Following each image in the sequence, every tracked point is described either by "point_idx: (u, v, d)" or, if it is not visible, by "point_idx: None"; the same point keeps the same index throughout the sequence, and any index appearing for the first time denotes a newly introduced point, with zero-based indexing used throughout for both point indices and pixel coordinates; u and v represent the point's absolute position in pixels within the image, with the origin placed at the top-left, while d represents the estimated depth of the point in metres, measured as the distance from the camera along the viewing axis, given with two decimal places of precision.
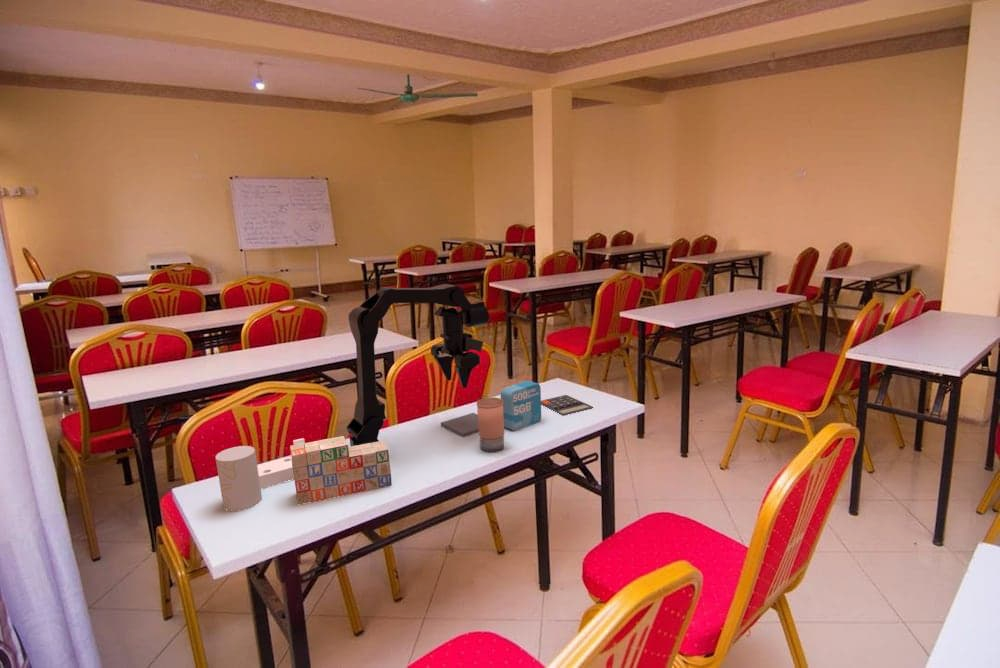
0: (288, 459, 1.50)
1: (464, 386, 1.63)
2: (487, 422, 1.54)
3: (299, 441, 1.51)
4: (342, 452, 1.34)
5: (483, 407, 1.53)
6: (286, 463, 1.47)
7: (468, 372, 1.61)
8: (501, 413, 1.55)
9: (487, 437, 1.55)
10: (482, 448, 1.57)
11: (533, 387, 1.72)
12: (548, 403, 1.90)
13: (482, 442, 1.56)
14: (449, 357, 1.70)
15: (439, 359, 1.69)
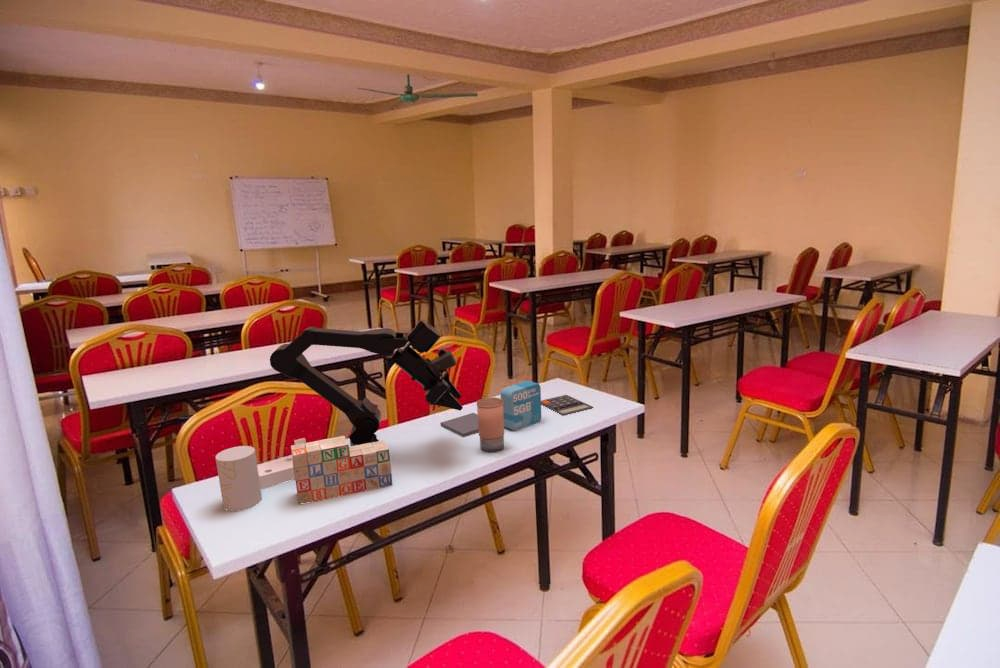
0: (289, 459, 1.50)
1: (459, 408, 1.50)
2: (487, 422, 1.54)
3: (300, 441, 1.51)
4: (343, 452, 1.34)
5: (483, 407, 1.53)
6: (287, 463, 1.47)
7: (450, 397, 1.48)
8: (501, 413, 1.55)
9: (487, 437, 1.55)
10: (482, 448, 1.57)
11: (533, 387, 1.72)
12: (548, 403, 1.90)
13: (482, 442, 1.56)
14: (444, 379, 1.59)
15: None
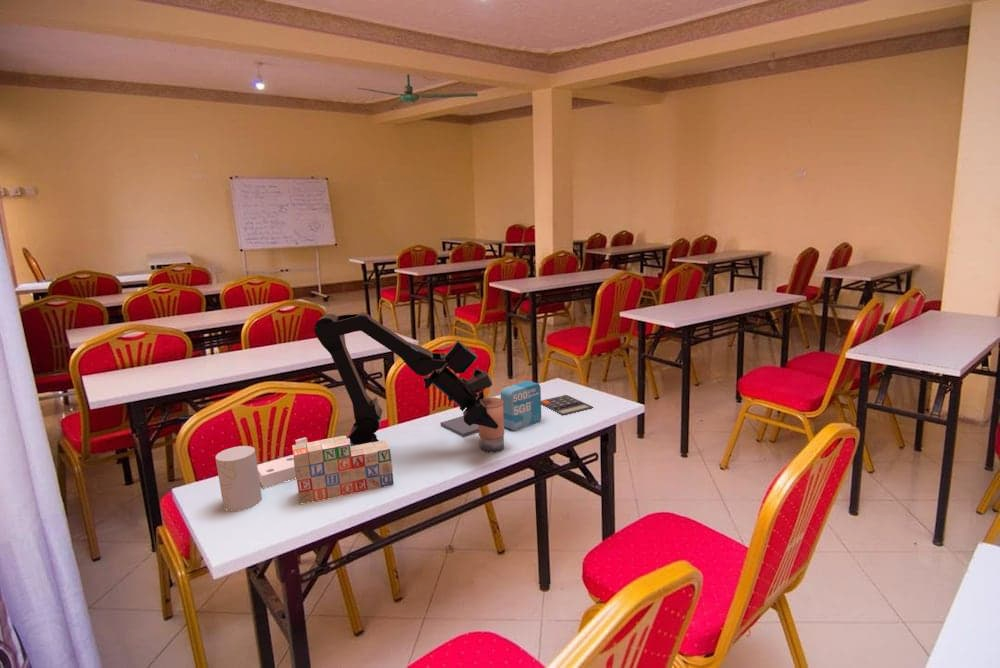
0: (291, 458, 1.51)
1: (495, 427, 1.53)
2: None
3: (302, 440, 1.51)
4: (344, 452, 1.35)
5: None
6: (289, 462, 1.48)
7: (486, 416, 1.51)
8: (501, 413, 1.55)
9: (487, 437, 1.55)
10: (482, 448, 1.57)
11: (533, 387, 1.72)
12: (548, 403, 1.90)
13: (482, 442, 1.56)
14: None
15: None
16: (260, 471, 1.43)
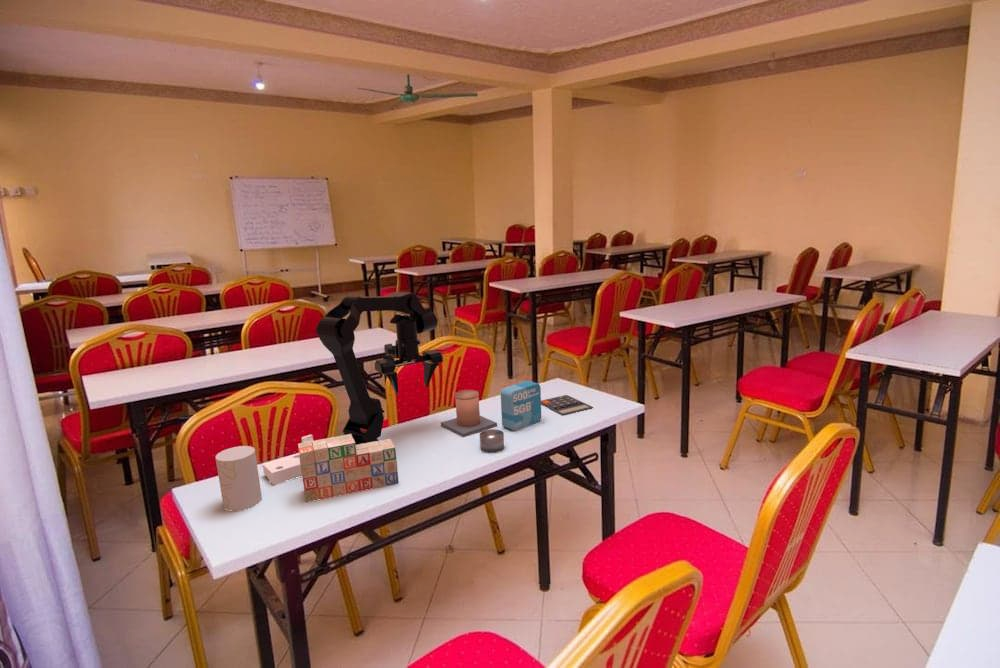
0: (297, 455, 1.52)
1: None
2: (471, 411, 1.71)
3: (308, 437, 1.53)
4: (349, 450, 1.35)
5: (467, 398, 1.70)
6: (297, 459, 1.49)
7: None
8: (478, 401, 1.74)
9: (471, 425, 1.72)
10: (482, 448, 1.57)
11: (533, 387, 1.72)
12: (548, 403, 1.90)
13: (482, 442, 1.56)
14: None
15: None
16: (269, 469, 1.45)
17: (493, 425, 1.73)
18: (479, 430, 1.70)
